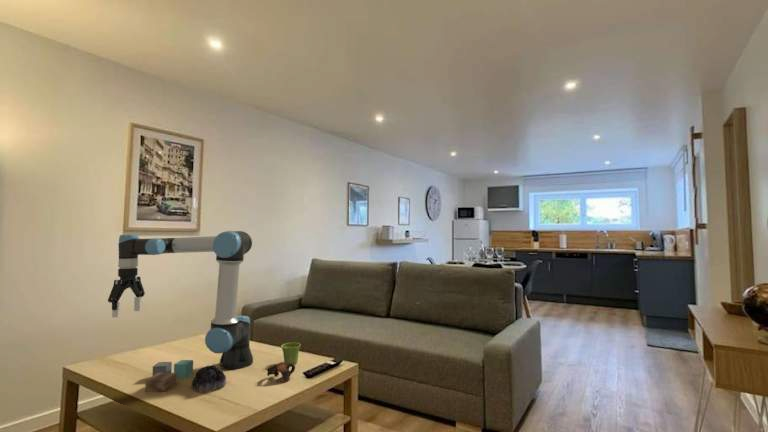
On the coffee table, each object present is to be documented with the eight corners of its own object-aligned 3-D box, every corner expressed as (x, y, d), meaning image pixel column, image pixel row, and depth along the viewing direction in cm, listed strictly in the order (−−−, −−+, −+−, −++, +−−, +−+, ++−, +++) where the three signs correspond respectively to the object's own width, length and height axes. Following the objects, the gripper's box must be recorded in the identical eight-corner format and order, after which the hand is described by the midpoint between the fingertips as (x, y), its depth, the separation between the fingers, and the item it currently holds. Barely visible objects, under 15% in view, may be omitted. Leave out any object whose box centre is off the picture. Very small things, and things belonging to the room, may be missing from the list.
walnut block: (176, 385, 160) (176, 373, 160) (164, 393, 152) (164, 380, 152) (158, 384, 161) (158, 372, 161) (145, 392, 153) (145, 380, 153)
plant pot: (276, 364, 184) (277, 346, 184) (288, 358, 193) (288, 341, 193) (293, 367, 181) (293, 348, 181) (304, 361, 189) (304, 343, 190)
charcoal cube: (171, 375, 171) (171, 361, 171) (165, 379, 165) (166, 365, 166) (158, 375, 170) (158, 362, 170) (152, 380, 165) (152, 366, 165)
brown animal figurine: (274, 387, 159) (267, 368, 161) (270, 390, 166) (263, 371, 168) (300, 373, 166) (293, 355, 168) (295, 377, 173) (288, 359, 175)
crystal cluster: (202, 381, 166) (200, 358, 165) (233, 379, 165) (231, 356, 165) (185, 397, 152) (183, 372, 152) (219, 394, 152) (216, 370, 151)
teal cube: (192, 373, 173) (193, 360, 173) (185, 378, 167) (186, 364, 168) (181, 373, 173) (181, 359, 173) (173, 377, 168) (174, 364, 168)
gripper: (139, 265, 189) (138, 308, 188) (98, 270, 164) (97, 320, 163) (153, 265, 189) (152, 308, 188) (115, 270, 164) (113, 320, 163)
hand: (127, 313), depth 176 cm, fingers open, 13 cm apart
